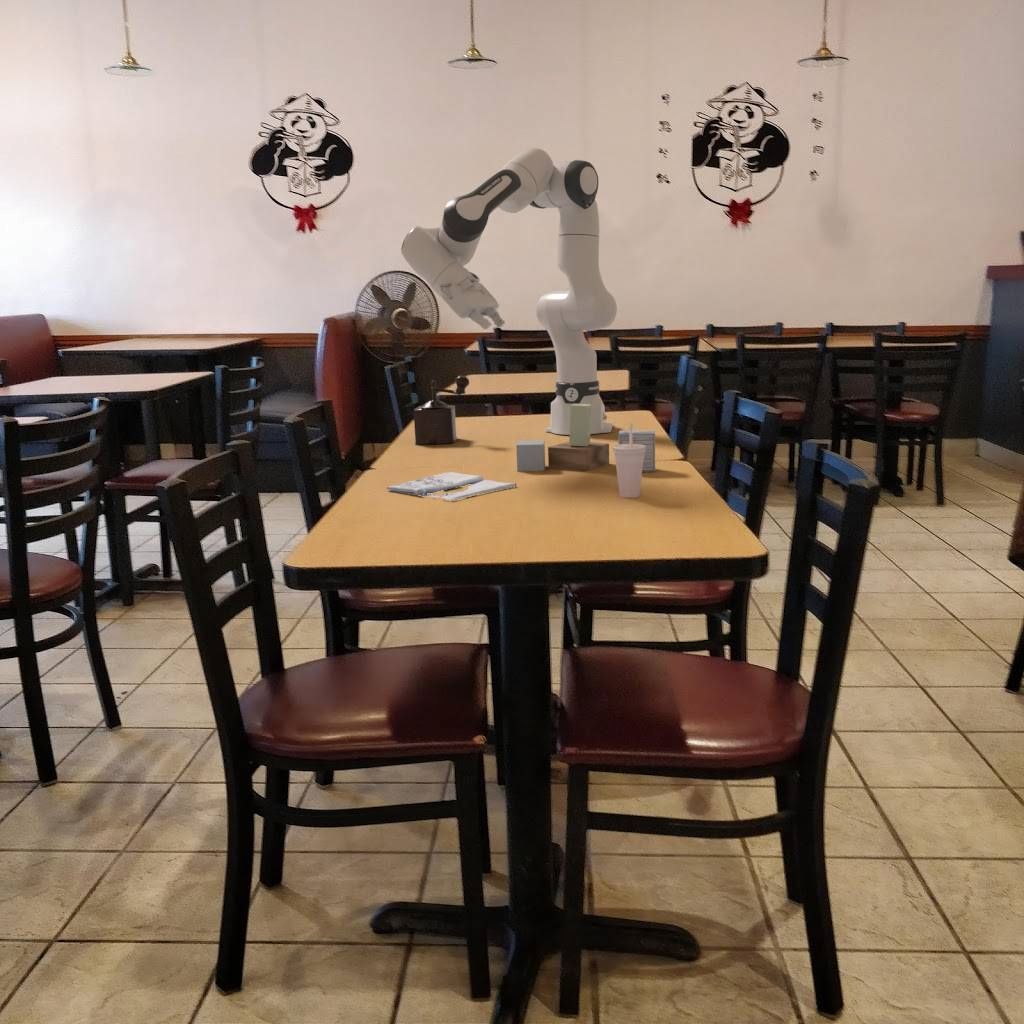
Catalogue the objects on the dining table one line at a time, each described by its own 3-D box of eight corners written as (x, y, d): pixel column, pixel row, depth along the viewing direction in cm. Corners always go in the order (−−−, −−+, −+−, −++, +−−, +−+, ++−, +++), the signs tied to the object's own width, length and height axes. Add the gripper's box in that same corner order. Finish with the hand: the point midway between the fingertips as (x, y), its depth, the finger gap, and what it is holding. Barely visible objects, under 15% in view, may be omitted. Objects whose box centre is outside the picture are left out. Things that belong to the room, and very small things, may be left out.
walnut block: (572, 461, 224) (571, 440, 223) (609, 465, 218) (608, 443, 217) (548, 468, 216) (548, 447, 215) (586, 472, 210) (585, 450, 209)
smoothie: (625, 500, 180) (624, 427, 176) (606, 495, 185) (605, 423, 182) (653, 496, 182) (653, 423, 179) (633, 491, 188) (633, 420, 185)
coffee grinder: (413, 445, 255) (409, 377, 251) (420, 439, 266) (416, 374, 262) (471, 444, 254) (468, 376, 250) (475, 437, 265) (472, 372, 260)
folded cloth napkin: (454, 478, 210) (454, 469, 209) (519, 490, 196) (519, 479, 195) (385, 493, 197) (384, 483, 196) (449, 506, 183) (448, 495, 182)
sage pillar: (572, 442, 219) (574, 403, 217) (589, 443, 218) (591, 404, 216) (569, 445, 214) (570, 405, 212) (586, 446, 213) (588, 406, 212)
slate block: (519, 466, 219) (518, 440, 218) (545, 466, 219) (544, 440, 217) (517, 471, 213) (516, 445, 212) (544, 471, 213) (543, 444, 211)
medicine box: (654, 468, 211) (654, 429, 209) (655, 472, 206) (655, 432, 204) (618, 469, 212) (618, 430, 210) (618, 472, 207) (618, 433, 205)
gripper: (445, 274, 213) (488, 317, 212) (478, 274, 232) (517, 314, 231) (428, 295, 215) (470, 338, 214) (462, 294, 234) (501, 333, 233)
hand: (495, 326), depth 223 cm, fingers open, 8 cm apart
